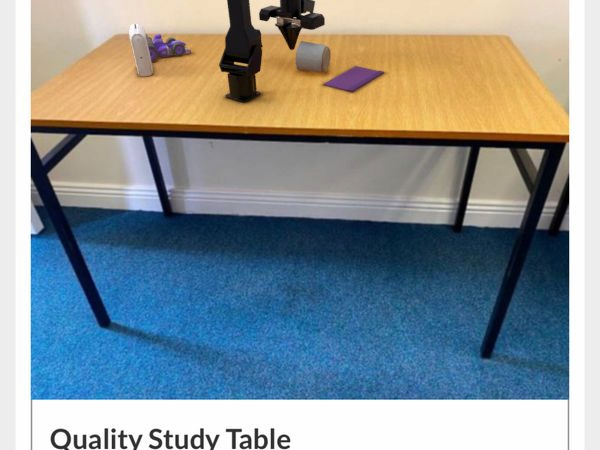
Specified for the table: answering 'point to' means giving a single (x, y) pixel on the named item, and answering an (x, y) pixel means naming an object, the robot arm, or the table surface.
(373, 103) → the table surface
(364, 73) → the cloth
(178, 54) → the toy race car
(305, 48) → the ceramic mug
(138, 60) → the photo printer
